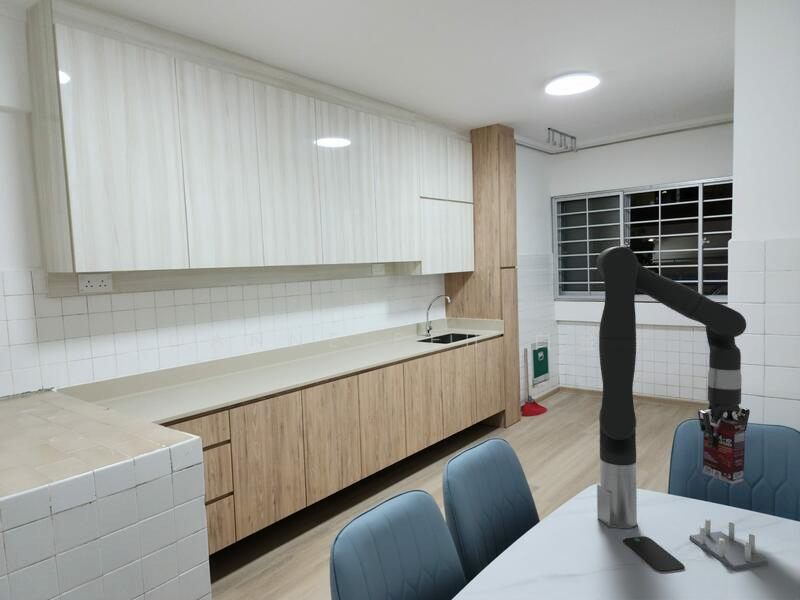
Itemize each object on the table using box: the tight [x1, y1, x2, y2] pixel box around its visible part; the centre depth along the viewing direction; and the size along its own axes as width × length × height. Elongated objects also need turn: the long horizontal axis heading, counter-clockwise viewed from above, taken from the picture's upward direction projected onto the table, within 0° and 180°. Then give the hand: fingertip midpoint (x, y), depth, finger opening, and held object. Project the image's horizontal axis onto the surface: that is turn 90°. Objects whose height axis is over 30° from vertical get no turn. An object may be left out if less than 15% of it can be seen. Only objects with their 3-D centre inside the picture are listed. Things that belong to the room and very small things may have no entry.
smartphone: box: [622, 535, 686, 574], centre depth 126 cm, size 8×1×15 cm
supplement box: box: [702, 415, 746, 485], centre depth 138 cm, size 9×5×16 cm, turn 23°
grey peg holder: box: [689, 518, 769, 571], centre depth 126 cm, size 9×14×5 cm
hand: (723, 447), depth 138 cm, fingers closed on supplement box, 5 cm apart
